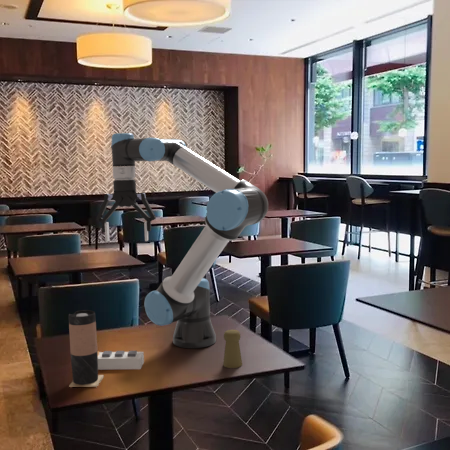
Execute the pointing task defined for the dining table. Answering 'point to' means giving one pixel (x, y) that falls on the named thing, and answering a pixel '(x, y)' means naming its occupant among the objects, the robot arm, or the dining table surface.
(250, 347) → the dining table surface
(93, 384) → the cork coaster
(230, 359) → the pepper shaker
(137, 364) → the socket strip
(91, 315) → the travel mug
